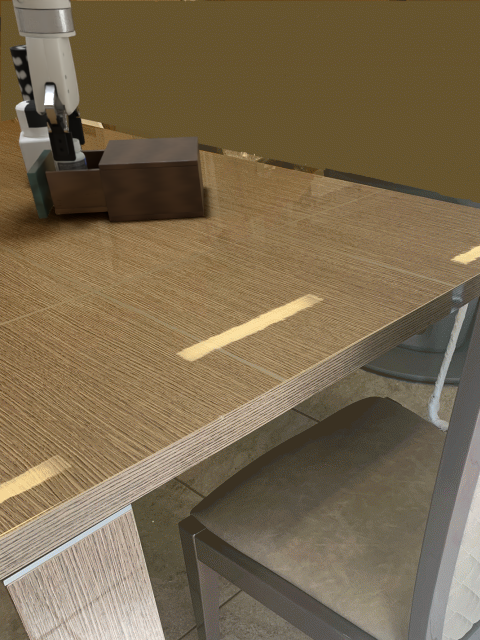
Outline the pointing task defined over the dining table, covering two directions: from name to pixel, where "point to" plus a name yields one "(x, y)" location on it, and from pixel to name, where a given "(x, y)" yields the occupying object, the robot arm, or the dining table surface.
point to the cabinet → (152, 179)
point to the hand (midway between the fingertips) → (70, 152)
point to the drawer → (67, 186)
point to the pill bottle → (73, 165)
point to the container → (32, 132)
